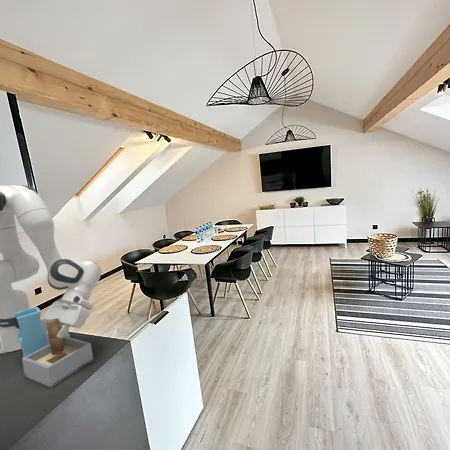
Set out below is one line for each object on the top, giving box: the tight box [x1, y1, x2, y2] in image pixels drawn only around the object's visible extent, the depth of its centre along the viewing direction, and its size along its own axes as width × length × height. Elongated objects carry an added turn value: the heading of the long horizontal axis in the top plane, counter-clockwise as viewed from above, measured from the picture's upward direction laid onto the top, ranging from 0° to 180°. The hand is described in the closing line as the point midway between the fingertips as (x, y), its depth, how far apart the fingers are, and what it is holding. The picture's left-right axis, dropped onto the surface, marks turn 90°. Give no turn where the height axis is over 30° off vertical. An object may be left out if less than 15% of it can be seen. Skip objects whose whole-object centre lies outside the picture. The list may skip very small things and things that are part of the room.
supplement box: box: [40, 318, 71, 346], centre depth 121 cm, size 7×7×13 cm
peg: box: [46, 318, 64, 355], centre depth 101 cm, size 4×4×12 cm
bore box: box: [21, 336, 94, 389], centre depth 102 cm, size 16×16×7 cm
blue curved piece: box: [14, 306, 46, 358], centre depth 109 cm, size 8×8×20 cm
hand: (53, 336), depth 100 cm, fingers closed on peg, 4 cm apart
